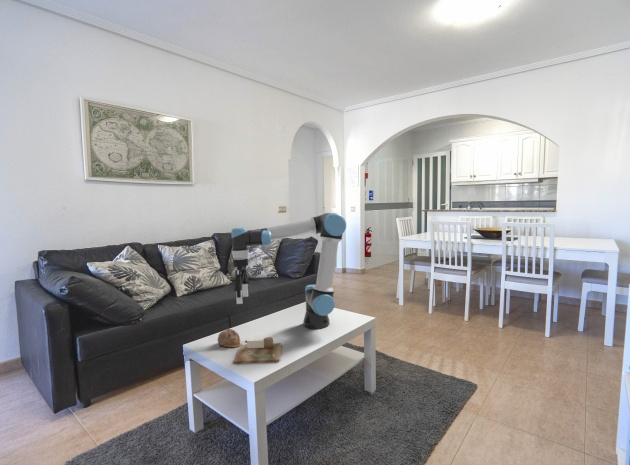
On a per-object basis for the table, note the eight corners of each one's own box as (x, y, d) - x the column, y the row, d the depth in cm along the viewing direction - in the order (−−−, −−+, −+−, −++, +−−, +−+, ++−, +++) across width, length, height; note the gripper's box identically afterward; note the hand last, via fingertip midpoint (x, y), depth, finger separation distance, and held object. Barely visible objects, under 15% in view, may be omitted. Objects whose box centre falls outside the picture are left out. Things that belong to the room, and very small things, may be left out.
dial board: (282, 345, 162) (282, 342, 162) (279, 362, 144) (279, 358, 144) (241, 347, 162) (241, 344, 162) (233, 364, 144) (233, 360, 144)
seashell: (220, 349, 157) (217, 328, 162) (218, 353, 165) (215, 333, 169) (242, 345, 162) (239, 325, 166) (239, 348, 169) (236, 329, 173)
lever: (273, 345, 159) (273, 337, 159) (272, 348, 155) (272, 340, 155) (246, 346, 159) (245, 338, 159) (244, 350, 154) (244, 341, 154)
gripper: (238, 255, 178) (240, 293, 180) (226, 262, 153) (228, 307, 155) (252, 254, 178) (254, 293, 180) (242, 262, 153) (244, 306, 155)
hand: (242, 300), depth 167 cm, fingers open, 13 cm apart
